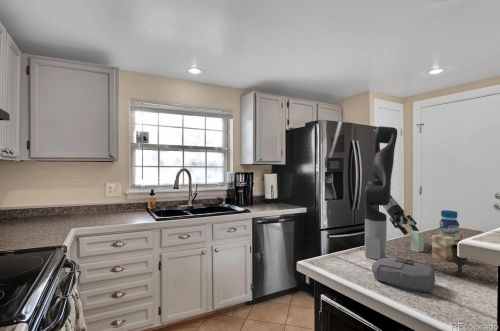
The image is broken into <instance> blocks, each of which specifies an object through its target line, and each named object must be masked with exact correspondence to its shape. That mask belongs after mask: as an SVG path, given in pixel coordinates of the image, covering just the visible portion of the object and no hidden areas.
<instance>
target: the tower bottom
mask: <svg viewBox="0 0 500 331" xmlns="http://www.w3.org/2000/svg"><path fill="white" fill-rule="evenodd" d="M431 247H432V248H431V257H432V258H434V259H437V260H441V261H443V262H449V261H452V260H453V256H452V250H451V249H448V250H444V249H440V248H437V247H433V246H432V245H431ZM453 261H454V260H453Z"/></svg>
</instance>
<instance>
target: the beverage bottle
mask: <svg viewBox="0 0 500 331" xmlns="http://www.w3.org/2000/svg"><path fill="white" fill-rule="evenodd" d="M440 216H441V219H440V221H439V223H438V224H439V227H438V230H439V235H444V236H449V237H453V238H454V242H456V241H457V240H458V239H460V231H461V230H460V223H459V222H458V220H457V218H458V211H456V210H447V209H444V210H443V209H441V211H440Z"/></svg>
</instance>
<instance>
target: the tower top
mask: <svg viewBox="0 0 500 331" xmlns="http://www.w3.org/2000/svg"><path fill="white" fill-rule="evenodd" d="M453 244H454V238H453V237H449V236H444V235H440V234H437V235H436V234H435V235H431V247H432V246H433V247H437V248H440V249H444V250H448V249H451V248H450V246H451V245H453Z"/></svg>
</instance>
